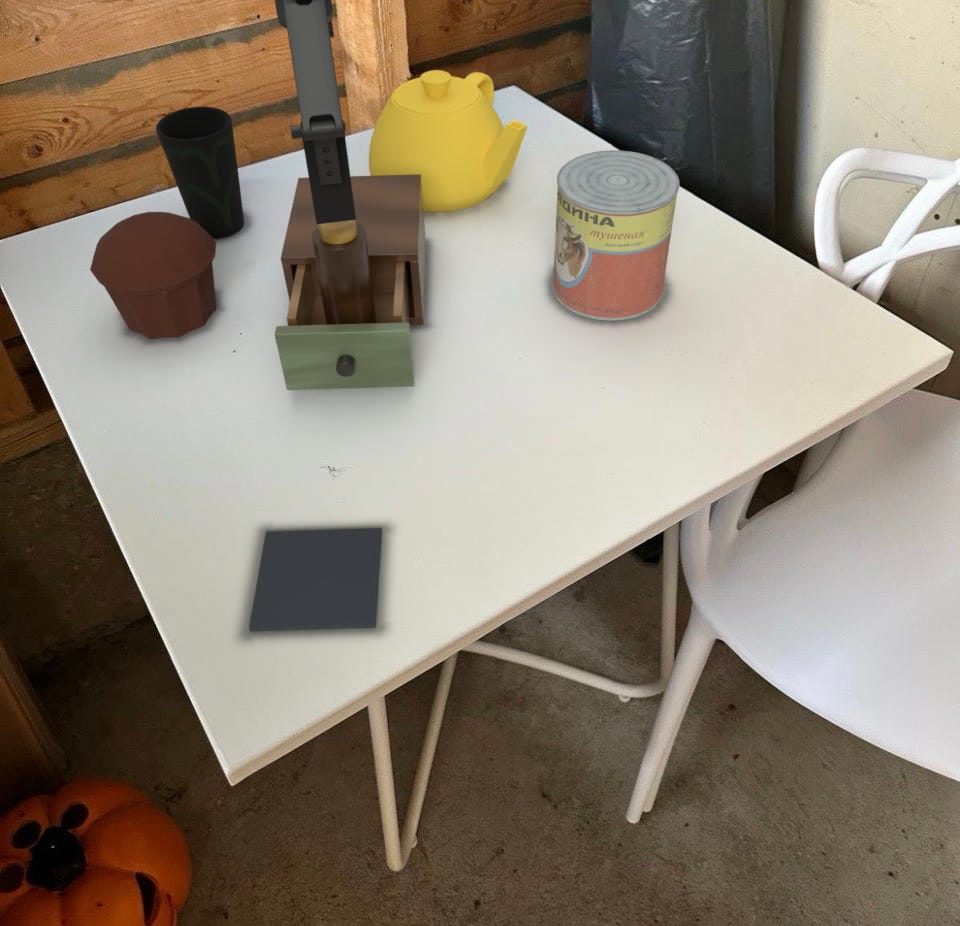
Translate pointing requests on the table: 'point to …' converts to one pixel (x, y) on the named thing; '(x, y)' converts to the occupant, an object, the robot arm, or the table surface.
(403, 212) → the cabinet
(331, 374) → the drawer
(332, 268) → the bottle
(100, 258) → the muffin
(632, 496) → the table surface
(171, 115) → the cup
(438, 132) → the teapot
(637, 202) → the canned food
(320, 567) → the mat
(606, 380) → the table surface
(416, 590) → the table surface
